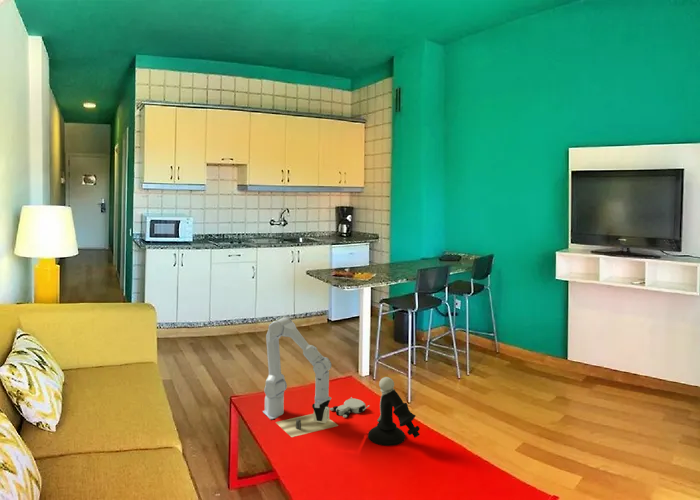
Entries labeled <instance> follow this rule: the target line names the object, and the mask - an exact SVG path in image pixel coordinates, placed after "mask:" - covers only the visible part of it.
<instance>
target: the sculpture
mask: <svg viewBox="0 0 700 500" xmlns="http://www.w3.org/2000/svg"><path fill="white" fill-rule="evenodd" d="M378 383H379V384H378V386H379V388H380V390H379V391H380V392H381V395H380V401H379V413H380V415H379V417H378V418H377V420H376V421H377V424H376V425H375V426H374V427H372V428H371V429H370V430H369V431H368V433H367V438H368V440H369V441H370V442H371V443H374V444H376V445H379V446H387V447H389V446H390V447H391V446H397V445H400V444H402V443H404V442H405V440H406V434H405V431H403V430H402V429H401V428H400V427H405V426H406V428H408V430H407V431H406V432H407V435H408V436H411V435H412V436H413V437H414V439H416V438H417V437H419V436H420V433H419V431H420V426H419V425H416V426H415V425H414V424H413V422H412V421H413V420H414V419H415V418H416V414H413V413H412V412H411V410H410V409H409V405H408V403H407V402H404V401H403V400H402V398H401V396H400V395H399V394H398V392H397V391H396V389H395V382H394V380H393V378H391V377H388V376H384V377H382V378H381V379H380V380H379V382H378ZM393 414H394V415H395V416H396V418H397V419H398V422H399V427H398V426H397V424H396V423H395V422H394V418H393Z"/></svg>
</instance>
